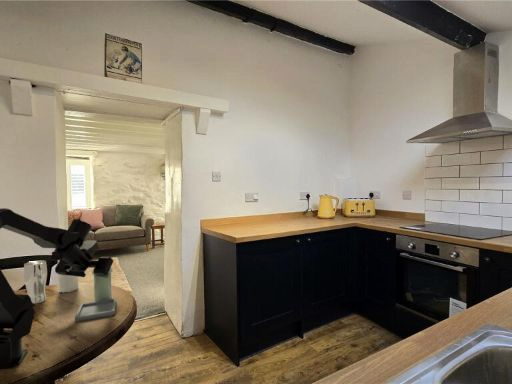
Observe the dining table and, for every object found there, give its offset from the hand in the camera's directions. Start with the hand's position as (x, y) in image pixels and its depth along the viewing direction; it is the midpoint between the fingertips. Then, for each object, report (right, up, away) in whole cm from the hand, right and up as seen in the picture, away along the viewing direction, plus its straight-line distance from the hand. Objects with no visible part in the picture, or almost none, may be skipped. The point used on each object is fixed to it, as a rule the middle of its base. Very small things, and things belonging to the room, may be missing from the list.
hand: (96, 276), depth 103 cm
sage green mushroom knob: (0, -10, +4) cm, 11 cm away
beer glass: (-25, -11, +3) cm, 27 cm away
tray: (+4, -11, -6) cm, 13 cm away
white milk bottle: (-20, -10, +14) cm, 27 cm away
